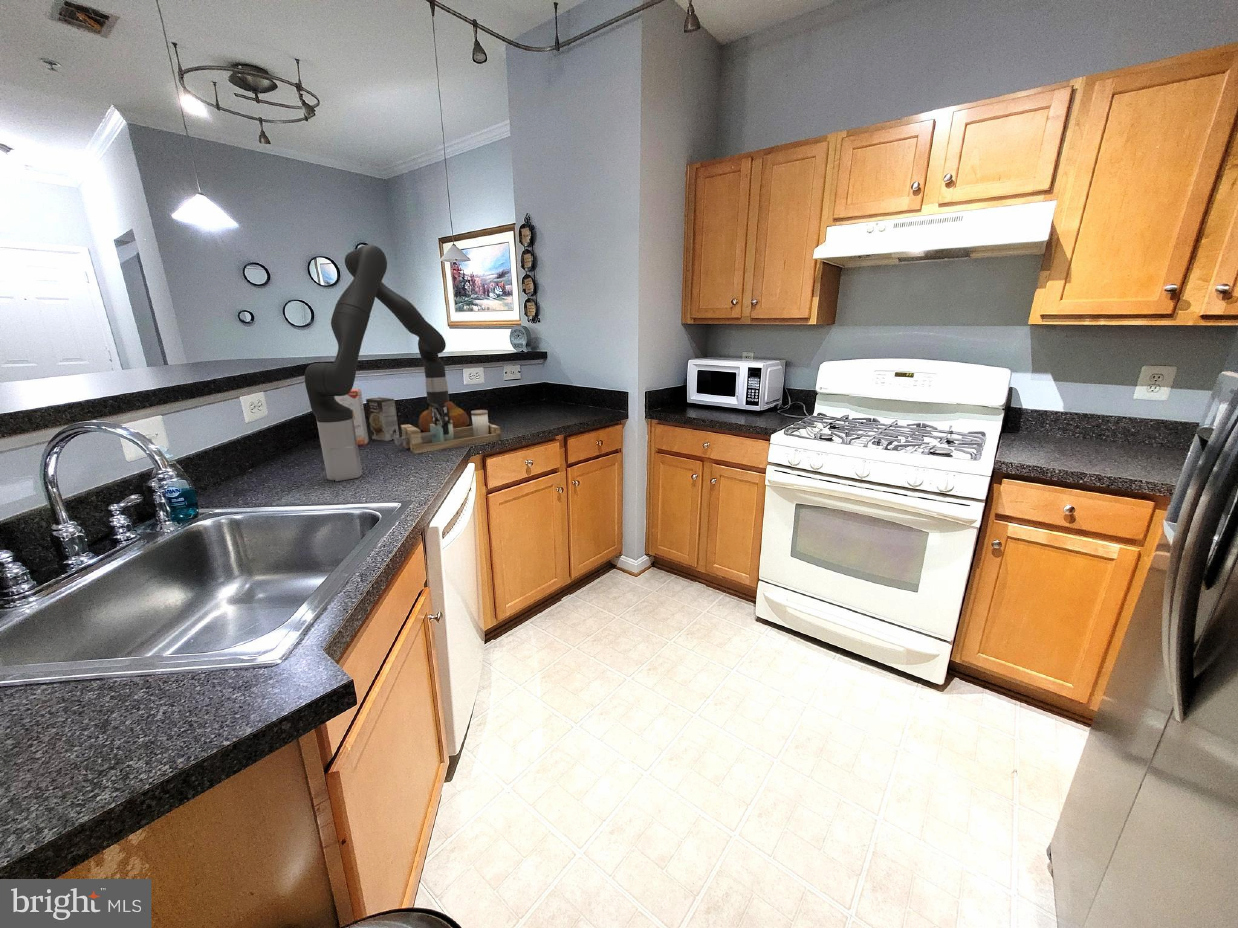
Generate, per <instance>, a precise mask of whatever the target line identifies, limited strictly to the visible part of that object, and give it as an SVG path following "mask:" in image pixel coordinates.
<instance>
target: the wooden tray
mask: <svg viewBox="0 0 1238 928" xmlns="http://www.w3.org/2000/svg"><path fill="white" fill-rule="evenodd" d="M488 425H489V435H483V436H477V437H474V434H473V425H470V426H466V427H463V428H456V429H453V433H454V440H450V441H443V442H437V443H433V442H432V439H431V438H428V439H421V435H424V434H431V432H421V431H422V429H420V428H417V427H415V426H414V425H411V424H409V423H408V424H400V428H401V438H402V437H409V441H407V442H402V445H403V447H404V448H405V449H410V452H411V451H412V452H411V453H413V454H414V453H415V454H420V453H426V452H427V451H428V452H433V451H440V450H446V449H453V448H459V447H465V446H472V445H477V444H483V443H484V444H485V443H490V442H496V441H501V440H502V435H501V427H500V426H498V425H495V424H492V423H489V422H488ZM428 452H427V453H428Z"/></svg>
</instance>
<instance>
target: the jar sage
mask: <svg viewBox="0 0 1238 928" xmlns="http://www.w3.org/2000/svg"><path fill="white" fill-rule="evenodd" d="M452 423H453V422H452V420H450V423H449V424H448V428H449V434H448V435H443V436H444V441H450V440H455V439H454V433H453V424H452ZM437 426H439V427H441V428H442V425H441V422H440V421H437Z"/></svg>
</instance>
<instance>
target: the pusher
mask: <svg viewBox="0 0 1238 928" xmlns="http://www.w3.org/2000/svg"><path fill="white" fill-rule="evenodd" d="M430 431H431V434H424V435H421V439H428V438H431V439H432V442H433V443H437V442H443V441H444V436H443V428H441V427H439V426H436V425H434V424H430ZM393 440H394V444H395V446H401V443H403V442H407V441H409V437H402V436H401V437H400V436H399V437H398V436H394V439H393Z"/></svg>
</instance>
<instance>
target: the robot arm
mask: <svg viewBox="0 0 1238 928" xmlns="http://www.w3.org/2000/svg"><path fill="white" fill-rule="evenodd" d="M387 261H388V260H387V257H386V254H385V252H384V251H383V250H382V248H381V247H379V246H378V245H376V244H365V245H361V246H359V247H357V248H355V249H353V250H352V251H350V252H348V253H346V255H345V257H344V265H345V268H346V269H347V271H348V272H349V274H350V275H351V276H352V277H353V280H351V282H350V283H349V285H347V287H346V288H345V290H344V291H343V293H342V294H341V295H340V297H339V298H338V299H337V301H336V304H335V305H334V306H335V307H334V309H333V312H332V316H331V319H330V326H331V331H332V333H333V335H334V338H335V340H336V341H337V342H336V343H337V346H338V347H337V353H336V356H335V359H334V360H333V362H322V363H321V362H319V363H318V362H317V363H316V362H315V363H311V364H309V365H308V366H307V368H305V372H304V384H305V385H304V386H305V389H306V392H307V393H306V394H307V397H308V401H309V405H310V409H311V412H312V413H313V415H314V416H315V419H316V423H317V429H318V436H319V442H320V448H321V452H322V457H323V458H322V459H323V463H324V467H325V473H326V477H327V480H328V481H334V480H335V482H341V481H346V480H353V479H358V478H360V476H362V475H363V470H362V469H363V467H362V463H361V459H360V451H359V447H358V446H359V445H357V439H356V433H355V426H354V420H353V414H352V410H351V409H350V408H348V407H346V406H343V405H341V404H340V403H339V402H337V401H336V399H335V397H334V396H345V395H347V394H349V393H350V391H351V390H352V389H353V388H354V384H355V380H356V373H357V369H358V361H359V356H360V353H361V349H362V348H361V347H362V344H363V341H364V337H365V333H366V331H367V329H368V326H369V325H368V324H369V321H370V318H371V312H372V309H373V306H374V302H375V300H376V299H377V300H379V302H380V303H382V304H383V305H384V306H385V307H386V308H387V309H388V310H389V311H390V312H391V313H392V314H393V316H394V317H395V318H396V319H398V321H399V322H400V323H401V324H402V326H403V327H404V328H405V329H406V330H407V331H408V332H409V333H410V334H411V335H415V336H416V337H417V338H418V341H417V348H418V352H419V355H420V359H421V361H422V364H423V367H424V368H423V369H424V376H425V391H426V398H427V400H426V401H427V403H428V404H429V407H430V408H431V418H432V419H433V421H435V422H434V424H435V425H436V426H437V421H440V422H441V425H442V428H443V435H448V434H449V428H448V424H449V423H450V416H449V408H448V407H445V403H447V402H449V401H450V396H449V385H448V380H447V375H446V367H445V363H444V361H442V360H441V359H440V357H439V354H441V353H443V352H444V351H445V350H446V348H447V343H446V340H445V338H444V337H443V335H442V334H441V332H440V331H438V330H437V329H436V327H434V326H433V325H431V323H429V322H428V321H427V320H426V319H425V317H423V315H422V314H421V312H420V311H419V310H418V308H416V306H415V305H414V304H413V303H412V302H410V301H409V300H408V299H407V298H405V297H404V296H402V295H400V294H399V293H397V292H395V291H394V290H393V289H391V288H389V287H388V286H387V285H386V284H385V283H384V282H383V279H384V277H385V275H386V273H387V269H388V262H387Z"/></svg>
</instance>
